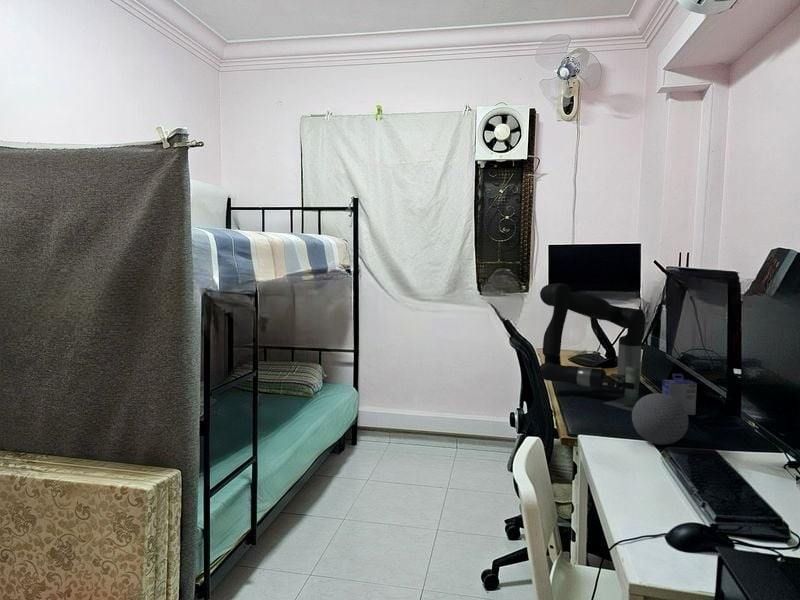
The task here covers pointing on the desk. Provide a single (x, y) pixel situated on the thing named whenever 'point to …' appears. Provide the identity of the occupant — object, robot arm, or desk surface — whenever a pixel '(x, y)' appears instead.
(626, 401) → the green pillar
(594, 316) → the robot arm
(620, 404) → the tapping mat
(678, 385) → the ink cartridge box
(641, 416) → the decorative ball
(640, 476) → the desk surface
